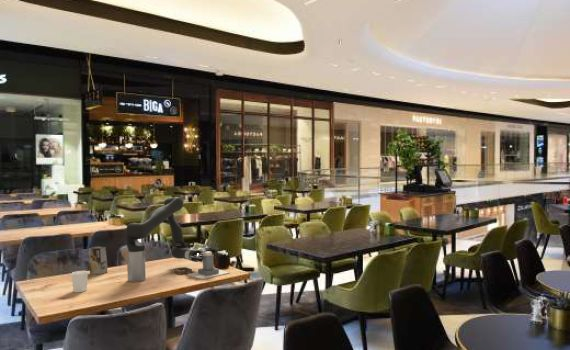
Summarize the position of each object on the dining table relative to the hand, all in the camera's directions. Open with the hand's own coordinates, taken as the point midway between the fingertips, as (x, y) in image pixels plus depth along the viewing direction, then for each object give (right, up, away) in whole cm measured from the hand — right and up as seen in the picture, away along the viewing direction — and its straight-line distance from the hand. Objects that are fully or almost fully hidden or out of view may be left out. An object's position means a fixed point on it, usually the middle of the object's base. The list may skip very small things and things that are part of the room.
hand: (208, 258), depth 284 cm
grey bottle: (0, -9, 0) cm, 9 cm away
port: (0, -9, 0) cm, 10 cm away
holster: (-17, -10, +6) cm, 20 cm away
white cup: (-64, -12, -31) cm, 72 cm away
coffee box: (-70, -11, +10) cm, 72 cm away
